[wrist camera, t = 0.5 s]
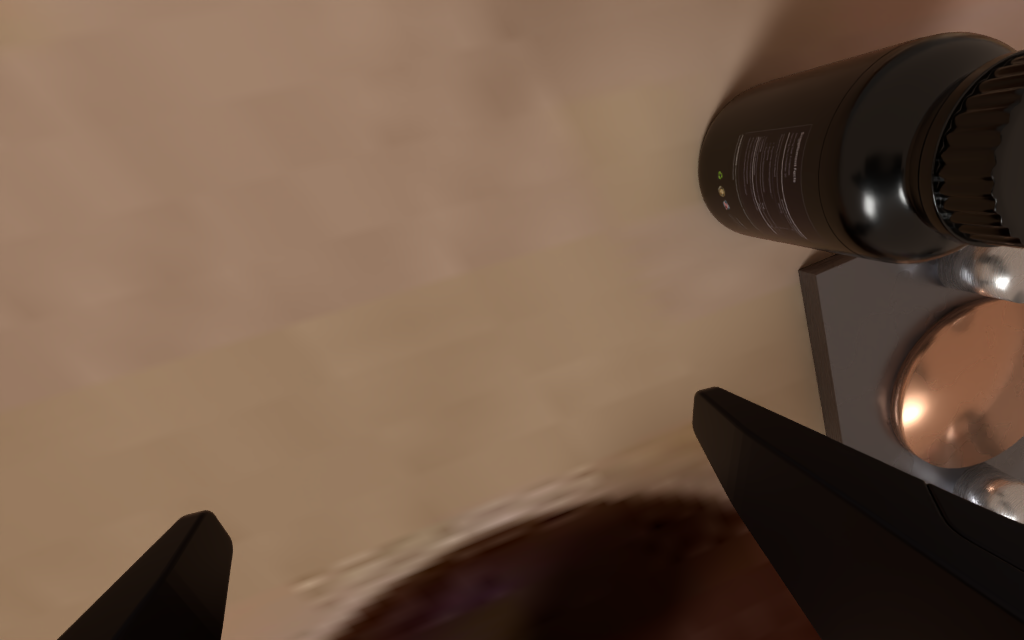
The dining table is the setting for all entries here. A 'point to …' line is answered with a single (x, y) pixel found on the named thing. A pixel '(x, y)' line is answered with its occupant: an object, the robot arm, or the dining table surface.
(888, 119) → the supplement bottle
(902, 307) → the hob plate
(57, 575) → the dining table surface
